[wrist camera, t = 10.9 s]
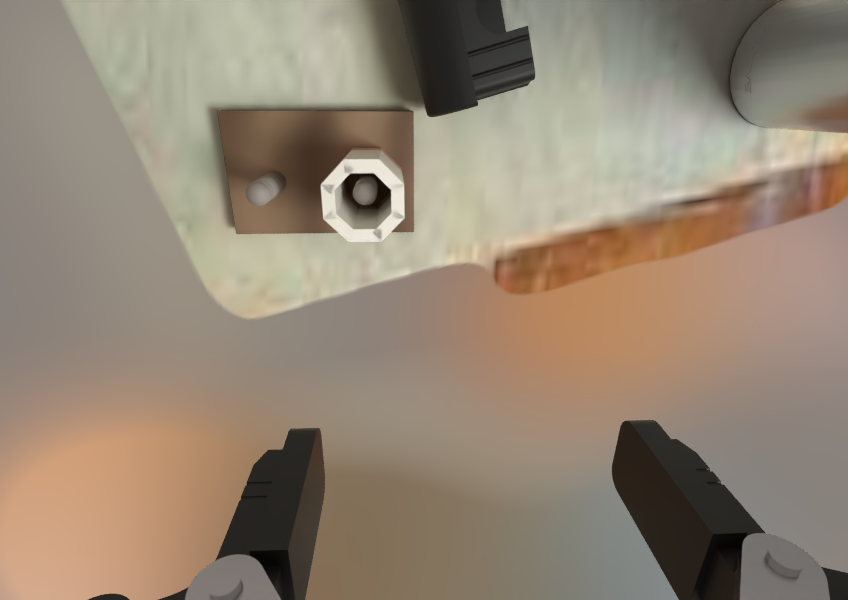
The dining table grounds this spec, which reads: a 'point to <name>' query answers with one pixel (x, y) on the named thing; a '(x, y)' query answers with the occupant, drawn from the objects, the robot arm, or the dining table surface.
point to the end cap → (464, 52)
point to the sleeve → (353, 216)
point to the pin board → (307, 164)
